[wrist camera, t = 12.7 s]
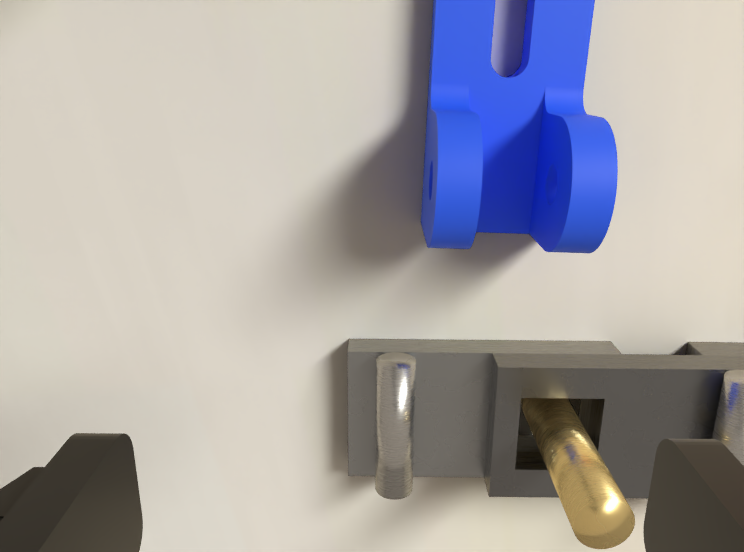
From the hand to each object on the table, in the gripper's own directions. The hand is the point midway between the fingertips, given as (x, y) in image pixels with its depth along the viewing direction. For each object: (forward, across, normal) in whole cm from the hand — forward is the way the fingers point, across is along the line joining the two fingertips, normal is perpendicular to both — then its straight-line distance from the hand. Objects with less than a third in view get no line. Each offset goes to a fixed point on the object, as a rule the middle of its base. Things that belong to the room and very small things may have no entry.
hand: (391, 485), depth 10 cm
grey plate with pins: (+30, -11, +15) cm, 35 cm away
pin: (+30, -11, +15) cm, 35 cm away
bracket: (+30, -7, -6) cm, 32 cm away
